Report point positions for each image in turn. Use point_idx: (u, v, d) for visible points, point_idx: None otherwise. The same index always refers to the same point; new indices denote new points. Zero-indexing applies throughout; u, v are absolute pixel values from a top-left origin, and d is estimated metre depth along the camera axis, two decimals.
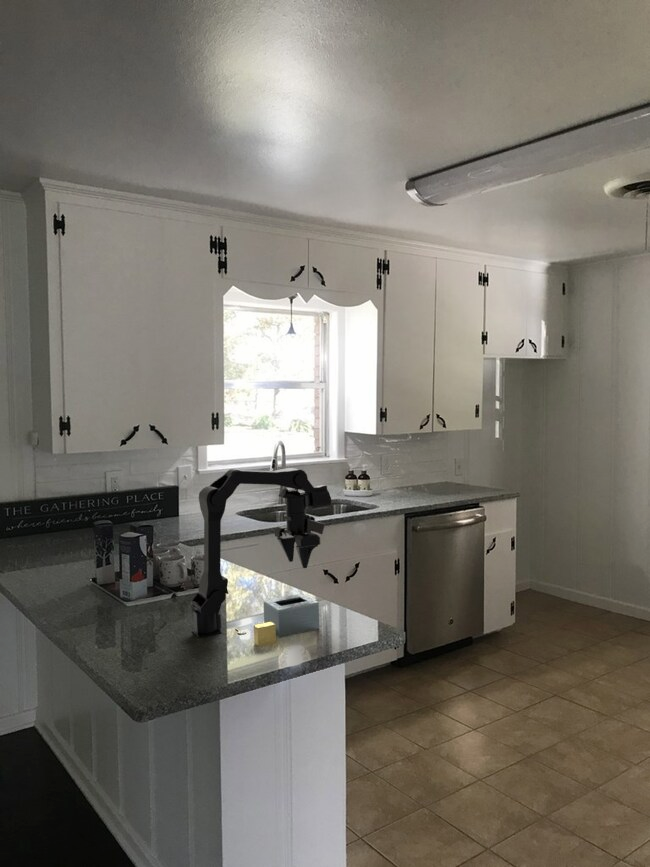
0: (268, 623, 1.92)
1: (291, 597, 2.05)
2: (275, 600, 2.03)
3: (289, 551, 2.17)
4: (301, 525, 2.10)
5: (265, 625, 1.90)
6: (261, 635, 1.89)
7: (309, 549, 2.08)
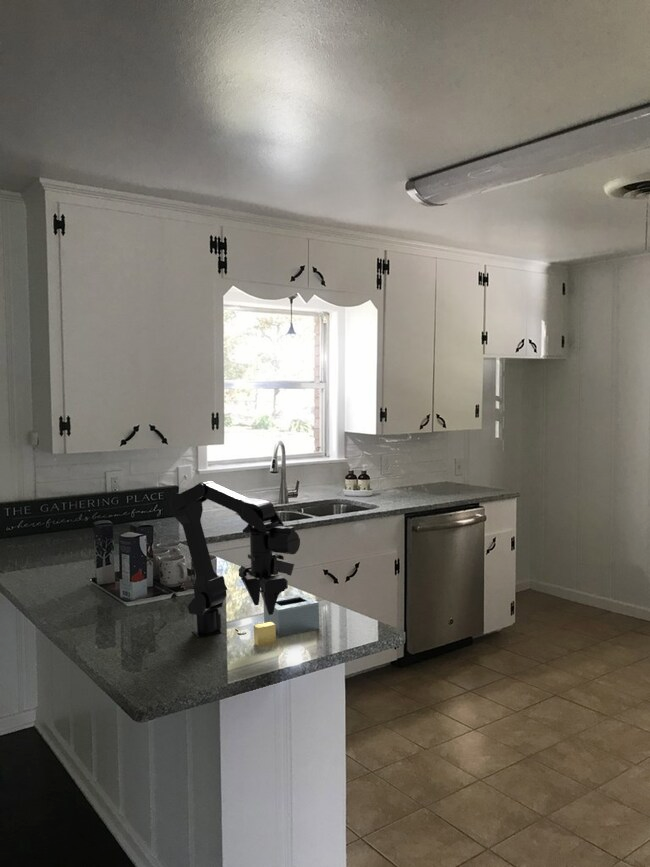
0: (268, 623, 1.92)
1: (291, 597, 2.05)
2: None
3: (254, 594, 1.94)
4: (267, 566, 1.87)
5: (265, 625, 1.90)
6: (261, 635, 1.89)
7: (275, 593, 1.85)
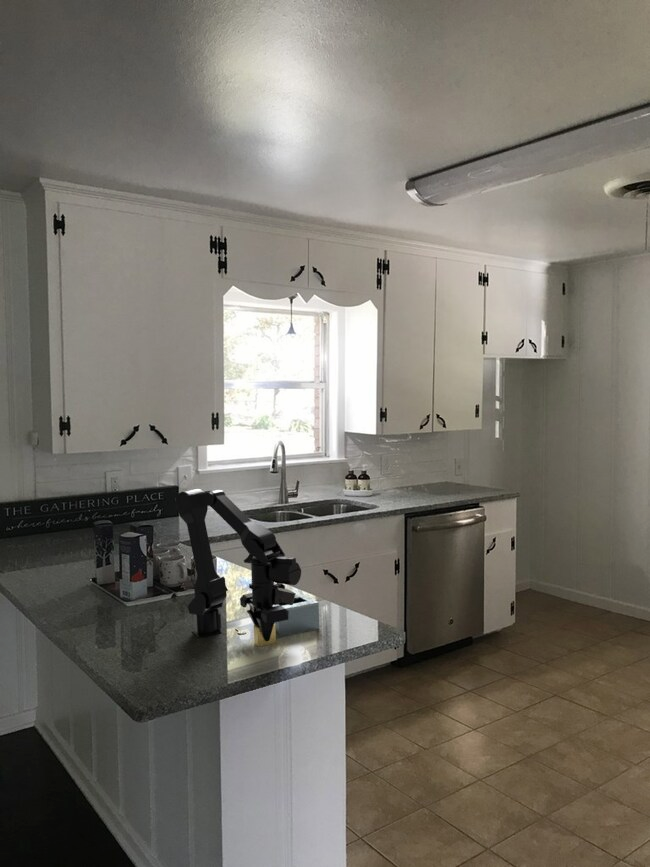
0: None
1: None
2: None
3: None
4: (269, 597, 1.88)
5: None
6: (261, 635, 1.89)
7: None
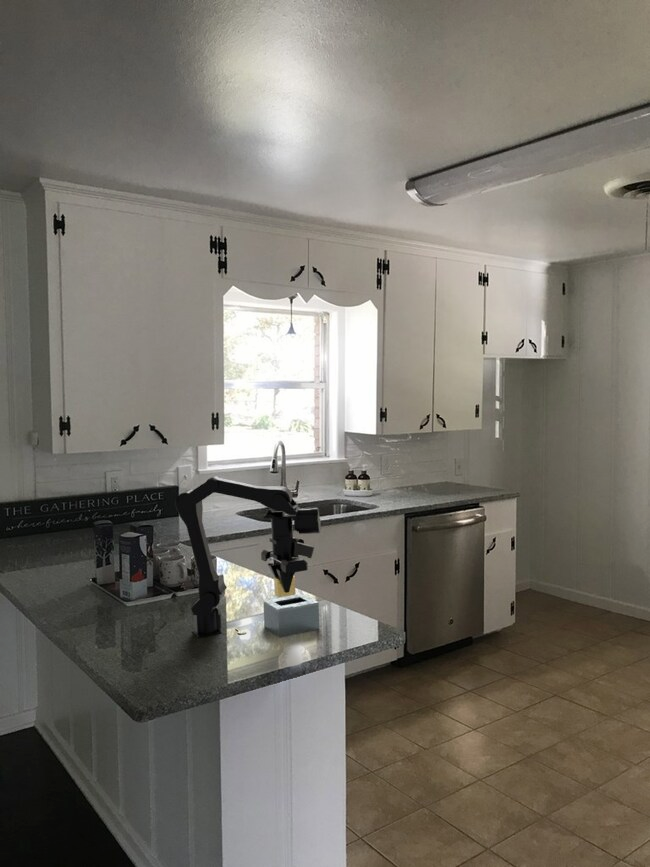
0: None
1: (291, 597, 2.05)
2: (275, 600, 2.03)
3: None
4: (288, 549, 1.95)
5: None
6: (281, 586, 1.97)
7: (291, 572, 1.96)
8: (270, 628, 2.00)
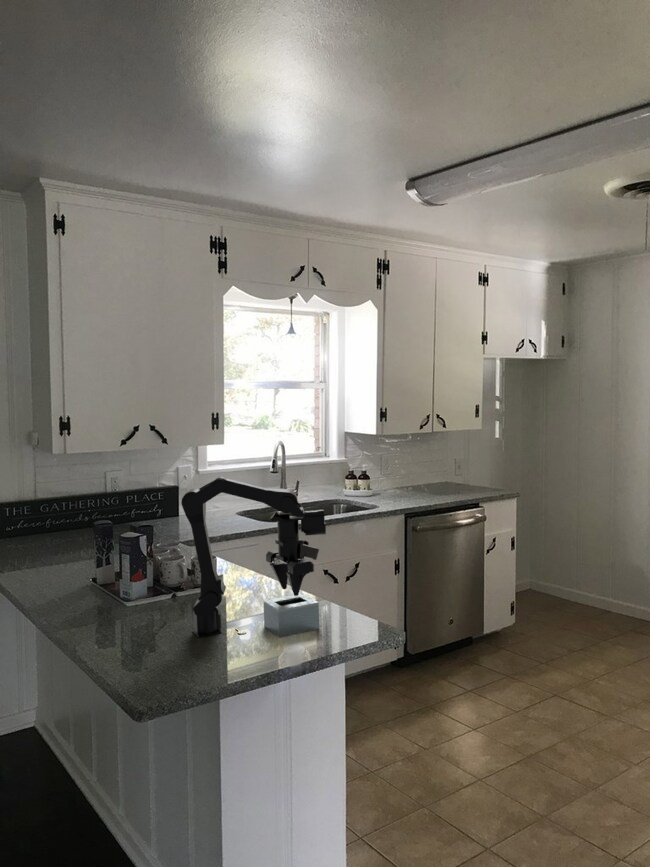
0: None
1: (291, 597, 2.05)
2: (275, 600, 2.03)
3: (282, 578, 2.05)
4: (294, 551, 1.98)
5: None
6: None
7: (301, 576, 1.97)
8: (270, 628, 2.00)
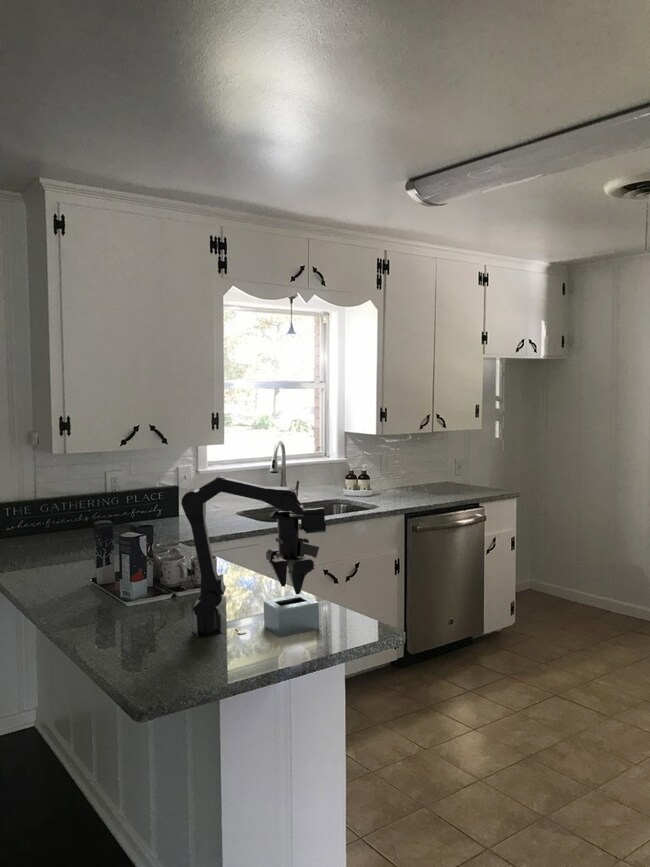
0: None
1: (291, 597, 2.05)
2: (275, 600, 2.03)
3: (281, 576, 2.05)
4: (294, 549, 1.98)
5: None
6: None
7: (302, 574, 1.96)
8: (270, 628, 2.00)
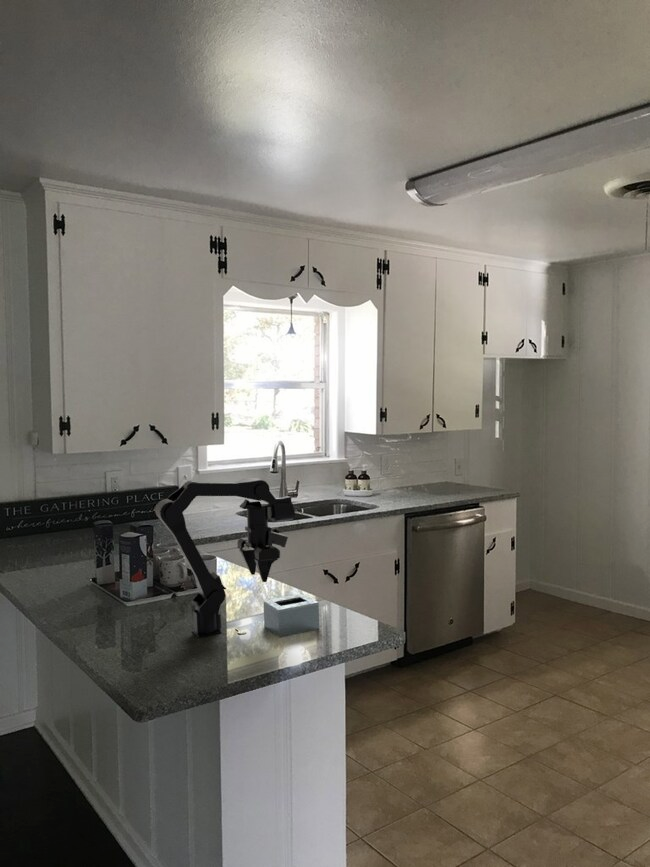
0: None
1: (291, 597, 2.05)
2: (275, 600, 2.03)
3: (251, 564, 2.11)
4: (262, 538, 2.04)
5: None
6: None
7: (269, 562, 2.01)
8: (270, 628, 2.00)
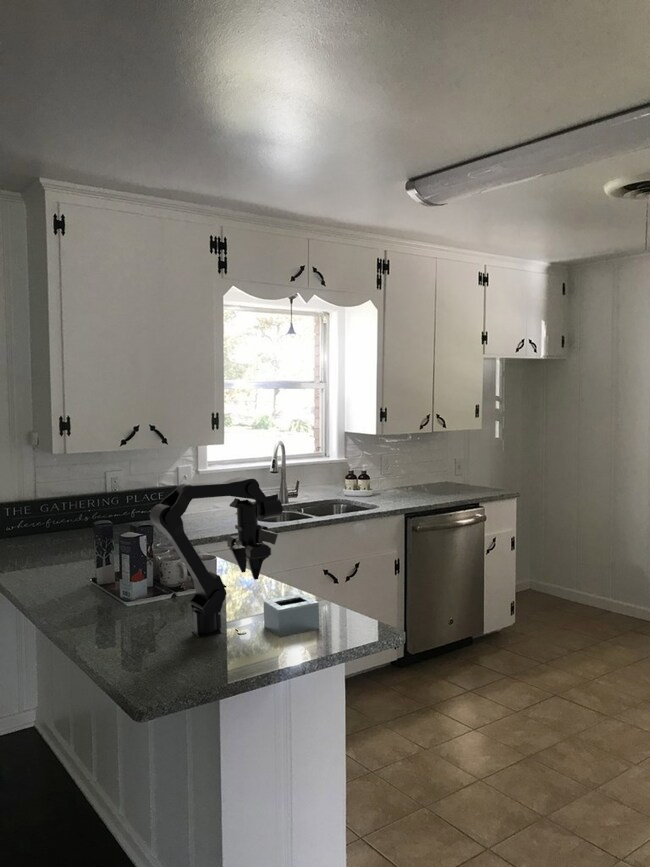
0: None
1: (291, 597, 2.05)
2: (275, 600, 2.03)
3: (242, 562, 2.12)
4: (253, 536, 2.06)
5: None
6: None
7: (260, 560, 2.03)
8: (270, 628, 2.00)
